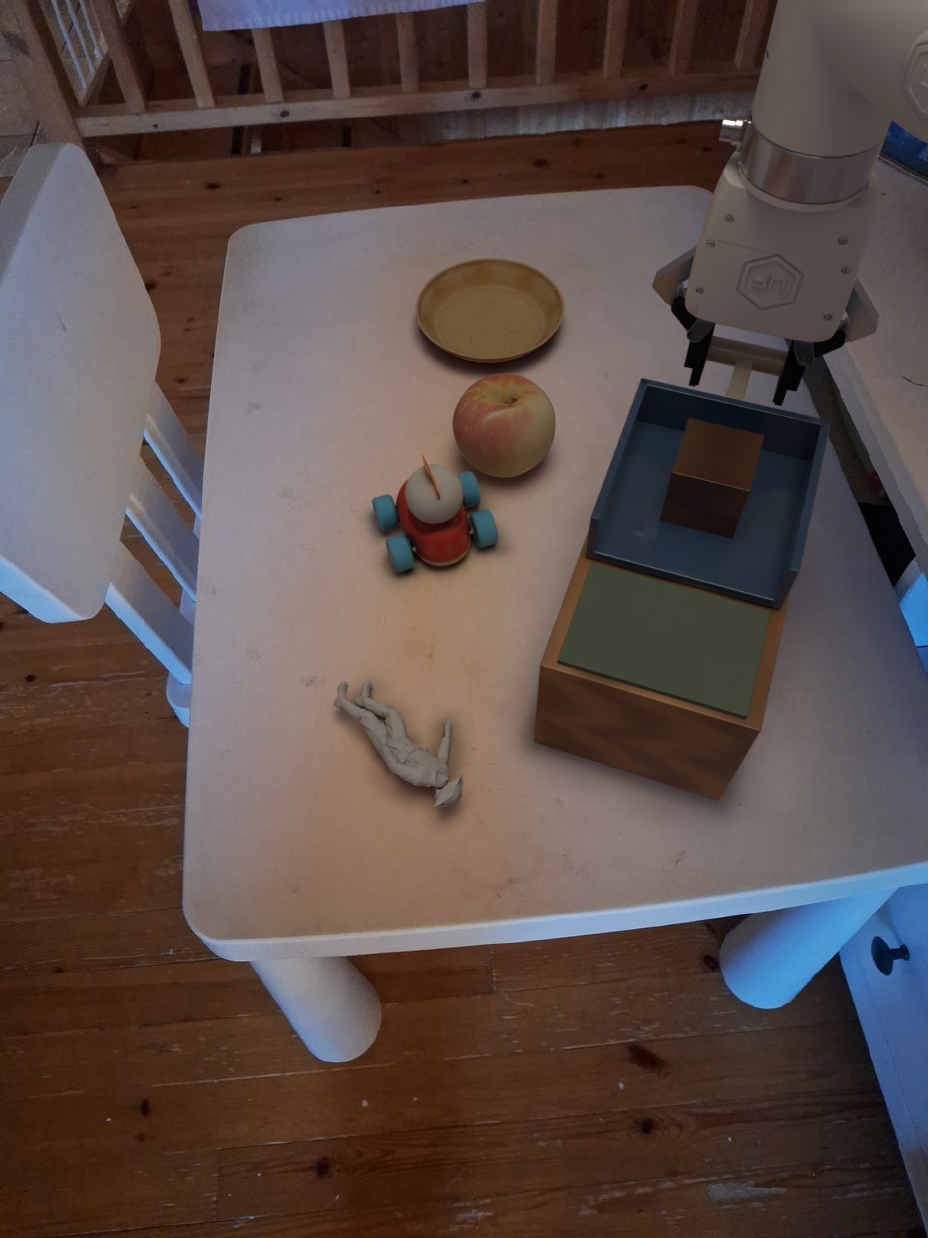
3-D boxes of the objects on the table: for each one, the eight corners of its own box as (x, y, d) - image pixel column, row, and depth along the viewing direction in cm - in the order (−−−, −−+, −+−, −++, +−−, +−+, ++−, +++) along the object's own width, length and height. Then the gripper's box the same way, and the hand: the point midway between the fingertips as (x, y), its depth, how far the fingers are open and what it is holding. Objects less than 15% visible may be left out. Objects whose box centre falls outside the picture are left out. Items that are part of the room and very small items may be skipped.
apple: (440, 475, 81) (435, 412, 75) (482, 410, 86) (481, 344, 79) (529, 507, 79) (532, 444, 72) (567, 438, 83) (574, 373, 76)
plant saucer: (575, 289, 94) (577, 268, 92) (546, 388, 87) (548, 368, 84) (439, 270, 96) (437, 249, 94) (399, 365, 89) (397, 345, 87)
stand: (775, 553, 76) (818, 457, 66) (719, 800, 65) (760, 731, 55) (613, 511, 79) (630, 413, 68) (533, 741, 68) (539, 665, 57)
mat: (769, 614, 59) (770, 610, 58) (745, 719, 55) (747, 716, 55) (591, 565, 61) (591, 562, 61) (557, 663, 57) (557, 660, 57)
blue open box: (823, 407, 68) (845, 357, 64) (780, 610, 59) (802, 566, 55) (651, 369, 71) (661, 318, 66) (584, 556, 61) (591, 511, 57)
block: (746, 484, 63) (764, 435, 59) (732, 538, 61) (750, 491, 57) (676, 467, 64) (689, 417, 60) (659, 520, 62) (671, 471, 58)
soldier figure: (396, 678, 72) (507, 744, 65) (380, 733, 73) (487, 805, 66) (322, 680, 66) (434, 753, 59) (305, 740, 67) (413, 820, 60)
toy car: (469, 480, 81) (466, 400, 73) (502, 556, 77) (502, 479, 68) (371, 507, 80) (356, 428, 71) (398, 585, 75) (385, 511, 67)
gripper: (648, 161, 52) (613, 391, 68) (959, 216, 49) (848, 446, 64) (677, 93, 56) (638, 326, 71) (969, 140, 52) (862, 374, 68)
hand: (738, 381), depth 68 cm, fingers closed on blue open box, 5 cm apart
